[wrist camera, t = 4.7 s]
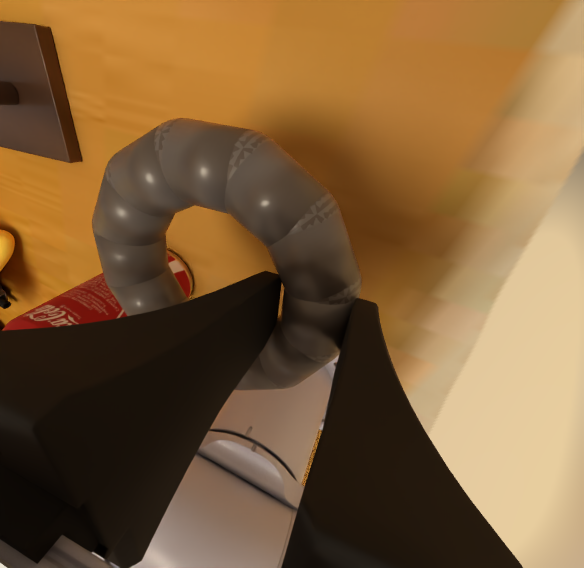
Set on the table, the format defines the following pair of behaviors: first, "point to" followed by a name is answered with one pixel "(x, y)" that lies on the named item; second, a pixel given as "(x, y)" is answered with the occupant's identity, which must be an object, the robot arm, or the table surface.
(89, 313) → the soda can
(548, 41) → the table surface
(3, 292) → the kitchen knife
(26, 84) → the rack
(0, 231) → the yellow toy dinosaur
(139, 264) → the grey segmented ring
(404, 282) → the table surface
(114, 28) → the table surface
